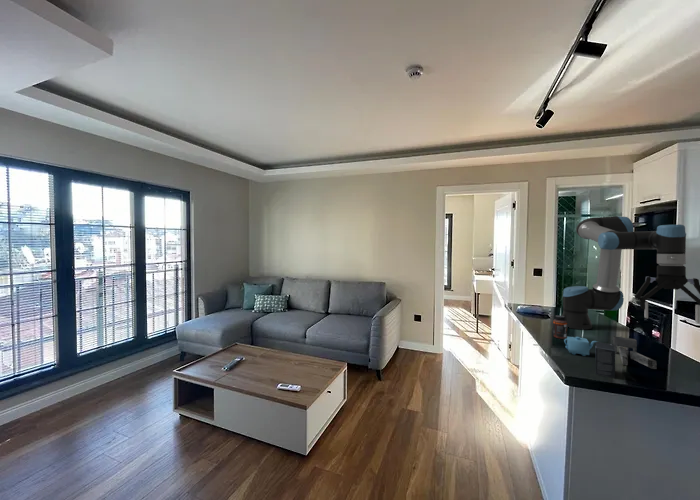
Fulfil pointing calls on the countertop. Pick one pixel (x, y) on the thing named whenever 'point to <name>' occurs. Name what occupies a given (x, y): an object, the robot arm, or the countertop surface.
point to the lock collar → (625, 343)
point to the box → (605, 359)
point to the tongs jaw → (643, 360)
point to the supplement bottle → (560, 327)
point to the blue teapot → (578, 345)
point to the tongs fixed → (623, 355)
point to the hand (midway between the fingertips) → (671, 320)
